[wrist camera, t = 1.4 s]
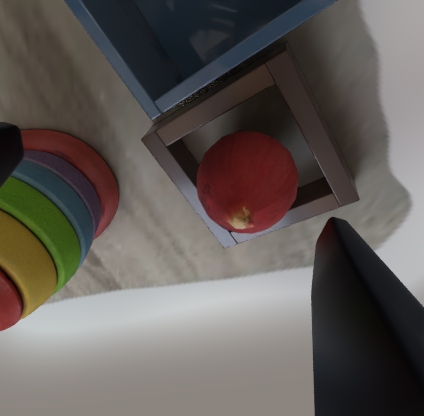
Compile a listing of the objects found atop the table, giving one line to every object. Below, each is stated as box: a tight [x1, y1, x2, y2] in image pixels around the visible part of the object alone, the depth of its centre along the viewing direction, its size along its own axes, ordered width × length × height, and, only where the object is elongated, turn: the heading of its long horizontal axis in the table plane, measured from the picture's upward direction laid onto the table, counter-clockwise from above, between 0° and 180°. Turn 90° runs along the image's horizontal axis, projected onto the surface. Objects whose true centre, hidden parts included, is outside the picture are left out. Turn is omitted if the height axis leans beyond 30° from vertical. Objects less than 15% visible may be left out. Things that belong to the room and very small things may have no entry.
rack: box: [141, 42, 359, 248], centre depth 21 cm, size 10×10×2 cm
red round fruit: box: [197, 131, 298, 234], centre depth 19 cm, size 6×6×8 cm
